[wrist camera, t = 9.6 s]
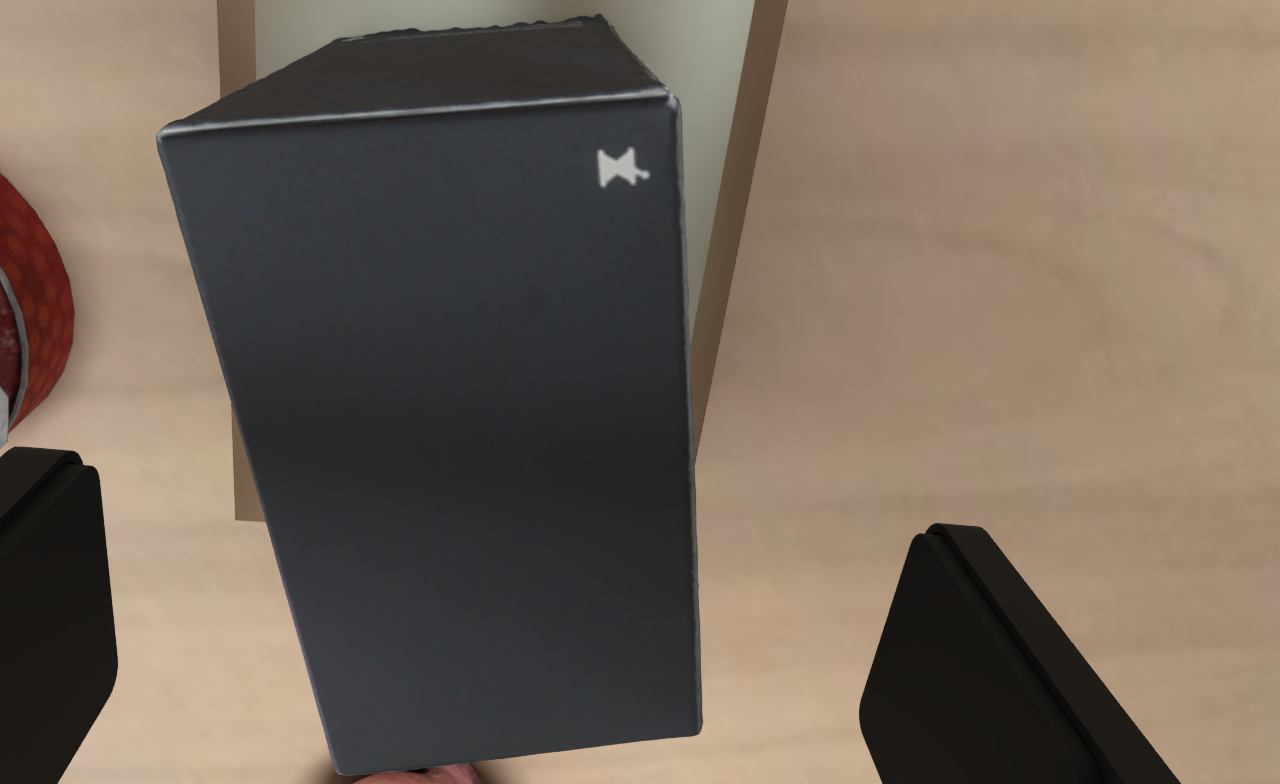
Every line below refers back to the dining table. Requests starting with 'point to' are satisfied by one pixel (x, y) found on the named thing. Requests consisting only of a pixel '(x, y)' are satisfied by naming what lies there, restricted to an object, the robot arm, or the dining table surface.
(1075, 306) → the dining table surface
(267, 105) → the small box
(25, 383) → the canned food
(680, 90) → the base
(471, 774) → the onion
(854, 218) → the dining table surface
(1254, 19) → the dining table surface
